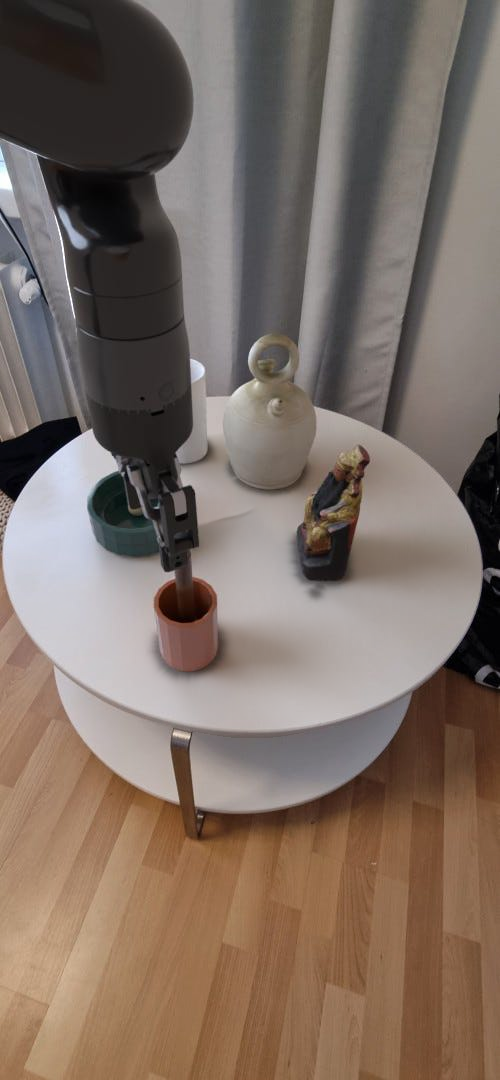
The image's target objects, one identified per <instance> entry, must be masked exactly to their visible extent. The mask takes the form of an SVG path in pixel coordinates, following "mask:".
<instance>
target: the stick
mask: <svg viewBox="0 0 500 1080" xmlns="http://www.w3.org/2000/svg"><path fill="white" fill-rule="evenodd" d="M187 557H188V563H187V565H186V566H185V567H182V568H180V569H177V570H174V579H175V580H176V591H177V601H178V611H179V622H180V623H192V622H194V621H197V618H196V617H195V606H194V590H193V577H194V576H193V575H194V574H193V561H192V560H193V559H192V551H191V549H190V550H187Z"/></svg>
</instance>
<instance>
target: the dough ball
mask: <svg viewBox="0 0 500 1080" xmlns="http://www.w3.org/2000/svg"><path fill="white" fill-rule="evenodd" d="M128 510H129V512H130V513H131V514H132V515H135V516H140V515H142V514H143V510H142V507H141V508H138V509H135V510H132V509H131V508H130V507H129V505H128Z"/></svg>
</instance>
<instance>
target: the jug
mask: <svg viewBox="0 0 500 1080" xmlns="http://www.w3.org/2000/svg"><path fill="white" fill-rule="evenodd" d="M273 346H279V347H281V348H284V349H285V350H286V351H287V352H288V354H289V357H288V358H289V359H288V362H287V364H286V366H285V367H283V368H282V369H280V370H278V371H274V369H275V368H274V366H275V363H276V360H275V359H274V358H272V359H271V358H268V359H260V356H261V355H262V353H263V352H264V351H265V350H266V349H267V350H268V348H270V347H273ZM247 363H248V368H249V371H250V373H251V374H252V376H253V379H251V380H250V381H247V382H245V383H244V384H242V385H240V386H239V387H238V388H237V389H236V390H235V391H234V392H233V393H232V395H231V396H230V398H229V399H228V401H227V403H226V405H225V409H224V411H223V416H222V430H223V436H224V441H225V445H226V450H227V454H228V459H229V462H230V464H231V465H230V466H231V467H232V470H233V472H234V474H235V476H236V477H237V478H238V479H239V480H240V481H241V482H242V483H243V484H246V485H248V486H249V487H252V488H255V489H259V490H262V491H275V490H282V489H285V488H287V487H290V486H292V485H293V484H295V483H296V482H297V481H298V480H299V478H300V477H301V475H302V473H303V471H304V468H305V466H306V464H307V461H308V458H309V456H310V453H311V451H312V447H313V444H314V441H315V438H316V434H317V415H316V409H315V406H314V404H313V402H312V400H311V398H310V396H309V394H307V392H306V391H305V390H304V389H302V387H300V386H299V385H297V384H295V383H294V382H292V381H290V379H291V378H293V377H294V376H295V374H296V372H297V371H298V369H299V365H300V353H299V349H298V347H297V345H296V343H295V342H294V341H293V340H292V339H291V338H289V337H288V336H287V335H285V334H283V333H282V334H281V333H278V332H273V333H267V334H265V335H263V336H261V337H260V338H259V339H257V341H255V342H254V343H253V345H252V346H251V348H250V350H249V353H248V358H247Z"/></svg>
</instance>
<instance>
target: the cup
mask: <svg viewBox="0 0 500 1080" xmlns="http://www.w3.org/2000/svg"><path fill="white" fill-rule="evenodd" d="M190 369H191V390H192V411H193V429H192V432H191V435H190V436H189V438H188V439H187V441H186V442H185V443H184V444H183V445H182V446H181V447H180V448H179V449H178V450H177V452H176V455H177V457H178V460H179V463H180V464H191V463H192V464H193V463H195V462H198V461H200V460H202V459H203V458H204V457H205V456H206V454H207V453H208V447H209V446H208V422H207V421H208V419H207V418H208V417H207V416H208V415H207V384H206V383H207V381H206V379H207V378H206V368H205V366H204V365H203V364H202V363H201V362H199V361H198V360H195V359H193V358H190Z"/></svg>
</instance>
